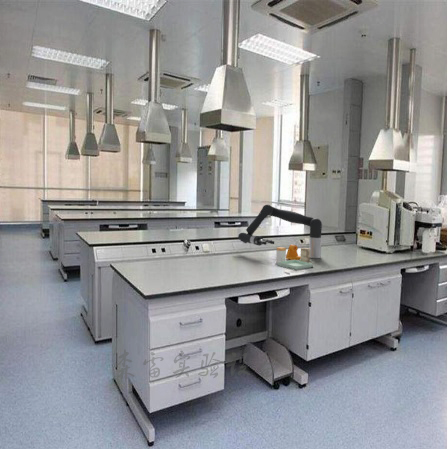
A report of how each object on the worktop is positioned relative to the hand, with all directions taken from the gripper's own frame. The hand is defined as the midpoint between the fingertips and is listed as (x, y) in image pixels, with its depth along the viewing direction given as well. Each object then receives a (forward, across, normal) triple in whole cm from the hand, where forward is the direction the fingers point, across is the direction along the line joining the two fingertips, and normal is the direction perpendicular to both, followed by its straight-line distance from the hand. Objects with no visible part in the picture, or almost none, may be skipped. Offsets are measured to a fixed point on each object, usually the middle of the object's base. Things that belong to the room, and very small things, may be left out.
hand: (270, 243), depth 294 cm
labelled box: (+12, 0, +14) cm, 19 cm away
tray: (+28, 0, +14) cm, 31 cm away
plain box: (+24, +14, +14) cm, 31 cm away
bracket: (+8, +20, +14) cm, 26 cm away
